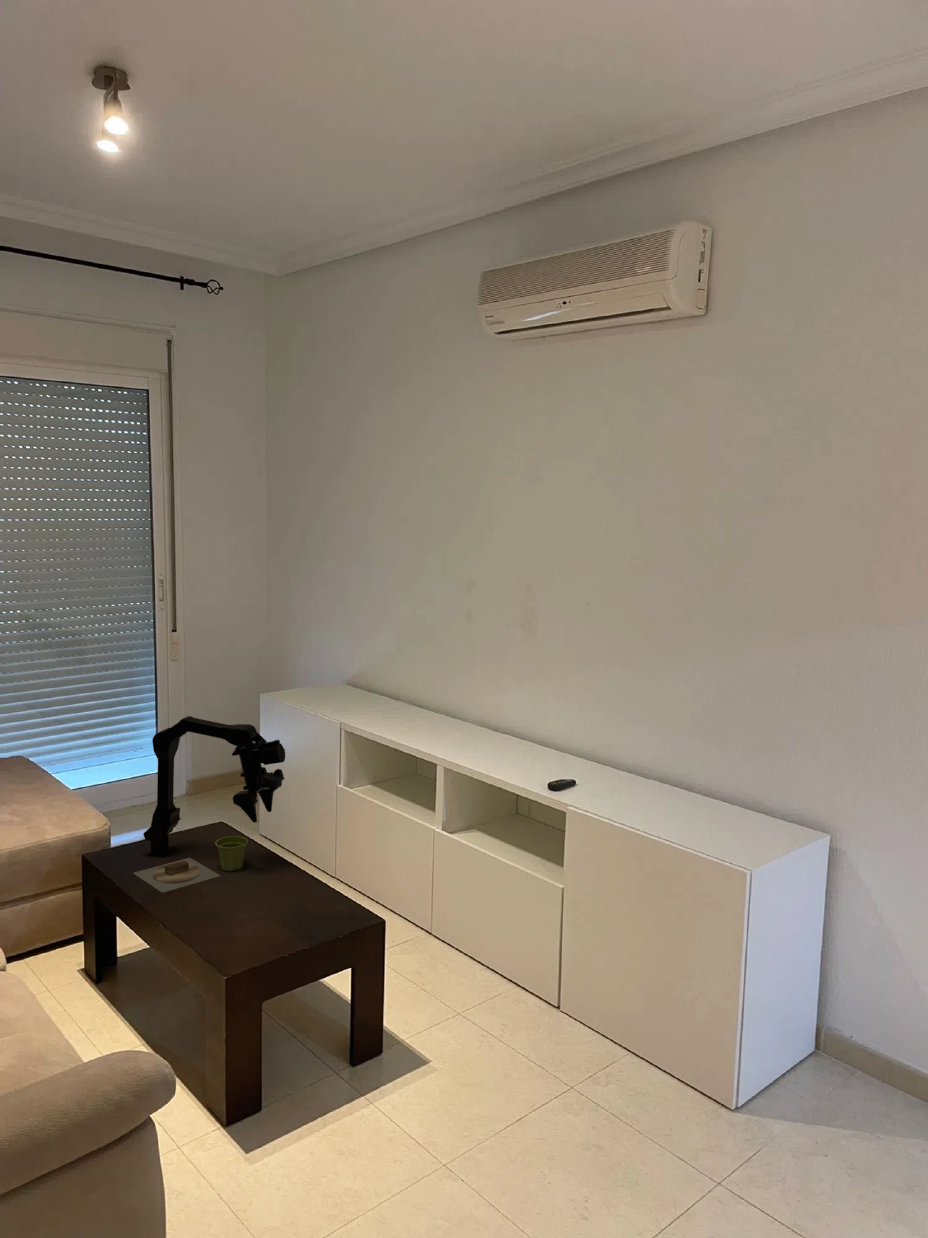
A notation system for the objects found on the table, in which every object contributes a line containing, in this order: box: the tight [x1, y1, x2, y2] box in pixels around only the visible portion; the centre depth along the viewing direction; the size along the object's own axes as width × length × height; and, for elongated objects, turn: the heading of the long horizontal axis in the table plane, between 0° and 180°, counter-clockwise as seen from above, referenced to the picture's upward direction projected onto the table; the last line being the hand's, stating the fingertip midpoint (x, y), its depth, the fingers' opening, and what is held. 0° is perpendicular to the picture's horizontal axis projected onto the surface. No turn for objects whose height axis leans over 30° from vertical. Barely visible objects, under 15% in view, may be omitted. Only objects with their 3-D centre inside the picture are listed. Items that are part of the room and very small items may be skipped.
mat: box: [133, 857, 221, 894], centre depth 262 cm, size 18×18×1 cm
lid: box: [153, 859, 200, 883], centre depth 262 cm, size 13×13×3 cm
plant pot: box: [214, 835, 249, 872], centre depth 269 cm, size 9×9×9 cm
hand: (262, 817), depth 272 cm, fingers open, 9 cm apart
